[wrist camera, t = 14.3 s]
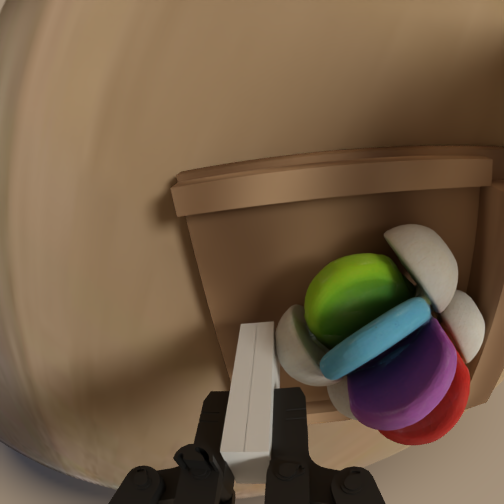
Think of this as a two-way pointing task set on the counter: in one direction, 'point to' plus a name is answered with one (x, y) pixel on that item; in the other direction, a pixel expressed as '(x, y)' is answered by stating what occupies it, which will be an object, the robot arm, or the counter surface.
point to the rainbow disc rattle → (388, 337)
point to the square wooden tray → (343, 235)
